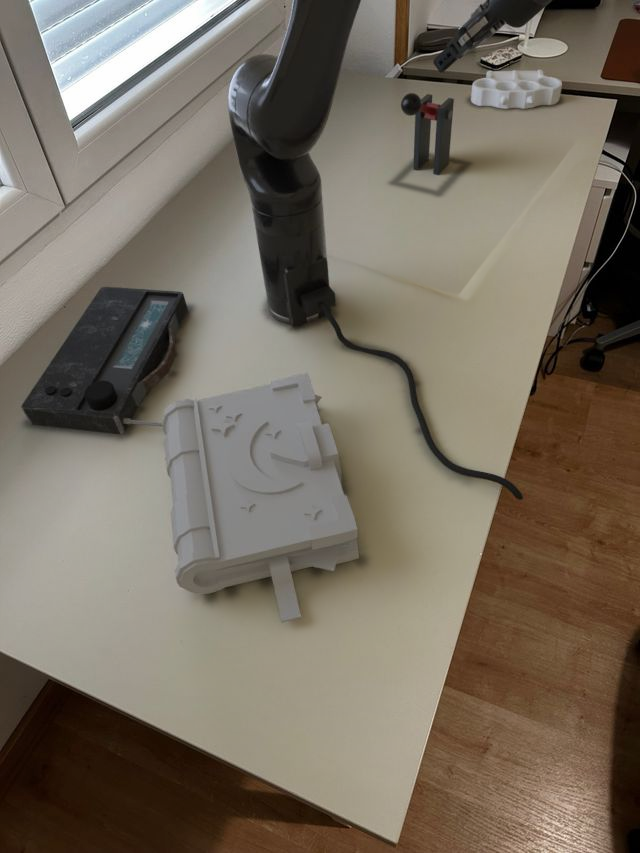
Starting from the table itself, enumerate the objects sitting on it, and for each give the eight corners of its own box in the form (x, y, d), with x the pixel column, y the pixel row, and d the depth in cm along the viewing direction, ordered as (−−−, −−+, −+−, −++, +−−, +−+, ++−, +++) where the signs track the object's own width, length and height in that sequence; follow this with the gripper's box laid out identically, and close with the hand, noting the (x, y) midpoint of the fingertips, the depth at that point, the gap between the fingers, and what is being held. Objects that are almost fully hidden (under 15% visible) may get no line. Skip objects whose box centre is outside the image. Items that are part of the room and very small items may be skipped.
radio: (99, 279, 96) (226, 288, 93) (108, 302, 100) (231, 311, 96) (15, 401, 80) (165, 417, 77) (29, 424, 84) (174, 440, 80)
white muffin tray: (555, 81, 140) (561, 111, 131) (470, 83, 143) (470, 112, 133) (558, 65, 138) (565, 94, 128) (472, 67, 140) (472, 95, 131)
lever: (413, 115, 101) (418, 93, 99) (395, 112, 102) (400, 90, 101) (443, 124, 111) (448, 104, 110) (426, 121, 113) (431, 101, 111)
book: (190, 649, 62) (170, 615, 56) (168, 436, 80) (152, 394, 75) (382, 601, 64) (382, 563, 58) (319, 403, 82) (314, 359, 77)
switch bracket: (438, 194, 113) (443, 120, 104) (393, 183, 117) (394, 111, 107) (467, 163, 120) (474, 91, 110) (423, 154, 123) (426, 83, 114)
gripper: (536, -66, 84) (443, 28, 98) (495, -37, 77) (401, 60, 91) (568, -14, 86) (472, 71, 100) (530, 19, 79) (433, 105, 93)
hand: (438, 65), depth 95 cm, fingers closed
